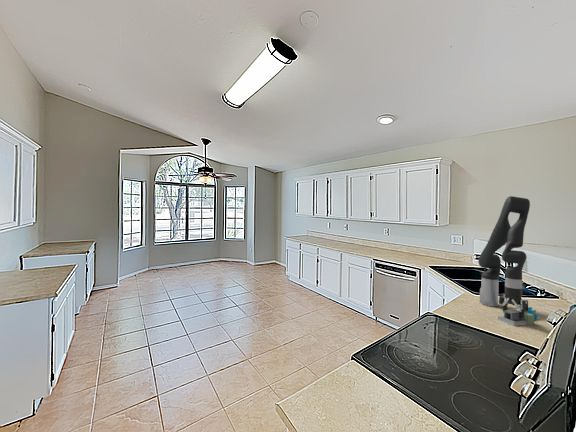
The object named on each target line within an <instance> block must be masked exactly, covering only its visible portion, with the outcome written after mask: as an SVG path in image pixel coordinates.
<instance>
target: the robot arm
mask: <svg viewBox="0 0 576 432" xmlns="http://www.w3.org/2000/svg"><path fill="white" fill-rule="evenodd" d="M530 202H531V201H530V199H528V198H525V197H517V196H511V195H510V196H508V197H507V198H506V199H505V201H504V203H503V205H502V208H501V212H500V215H499V217H498V219H497V221H496V224H495V226H494V228H493V229H492V232H491V234H490V237H489V239H488V241H487V243H486V245H485V247H484V248H483V250H482V251H481V252H480V253H481V254H480V255H479V258H478V265H479V267H480V268H483V269H487V270H486V271H483V272H481V275H480V276H481V281H480V282H481V284H480V285H481V286H480V288H479V303H481V304H482V305H485V306H489V307H498V306H499V305H501V306H502V312H503V314H504V310H509V309H508V305H512V306H514V307H516V309H518V310H519V318H520V319H522V318H524V312H527V311H528V308H529V301H528V299H522V297H523V280H522V279H523V269H524V266H525V263H526V261H527V257H528V256H527V253H526V252H525V251H524V250H523V251H522V250H513V249H518V248H522V247H523V246H524V234H525V229H526V228H525V227H526V224H527V220H528V217H529V216H528V215H529V212H530V207H531V203H530ZM510 213H514V214H519V215H518V218H517V220H516V221H515V223H514V224H513V225H512V226H511V223H510V220H509V215H510ZM504 246H505V247H504ZM502 247H504V249H503V251H502V253H501V258H500V256H499V255H498V254H495V253H496V252H497V251H498V250H500V249H501V248H502ZM501 260H502V261H503V262H505V263H508V264H509V263H510V264H516V266H507V267H506V268H505V280H504V293H499V284H500V283H499V282H500V281H499V277H500V275H501V269H502V268H501V266H502V261H501Z"/></svg>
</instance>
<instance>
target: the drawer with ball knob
mask: <svg viewBox="0 0 576 432" xmlns="http://www.w3.org/2000/svg"><path fill="white" fill-rule="evenodd" d="M513 309H514V310H517V311H519V310H518V308H510V309H509V310H513ZM497 320H498V321H500V322H503V323H506V324H508V325H511V326H514V327H515V326H518V327H519V326H524V325H525V326H526V325H528V326H530V325H531V326H532V325H535V320H534V315H533V314H530V313H527V312H524V318H522V321H512V320H511V319H507V318H504V315H502V316H500V315H497Z"/></svg>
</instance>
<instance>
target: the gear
mask: <svg viewBox="0 0 576 432" xmlns="http://www.w3.org/2000/svg"><path fill="white" fill-rule="evenodd" d="M527 313H530V314H533V315H534V321H536V320H538V314H536V313H537V310H536V309H534V310H533V308H532V307H531V306H528V311H527Z"/></svg>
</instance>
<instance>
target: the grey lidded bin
mask: <svg viewBox="0 0 576 432" xmlns="http://www.w3.org/2000/svg"><path fill="white" fill-rule="evenodd" d="M512 309H513V310H510V309H508V310H504V313H503V316H504V318H507V319H511V320H512V321H522V319H520V318H519V311H517V310H514V309H515V308H512Z"/></svg>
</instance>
